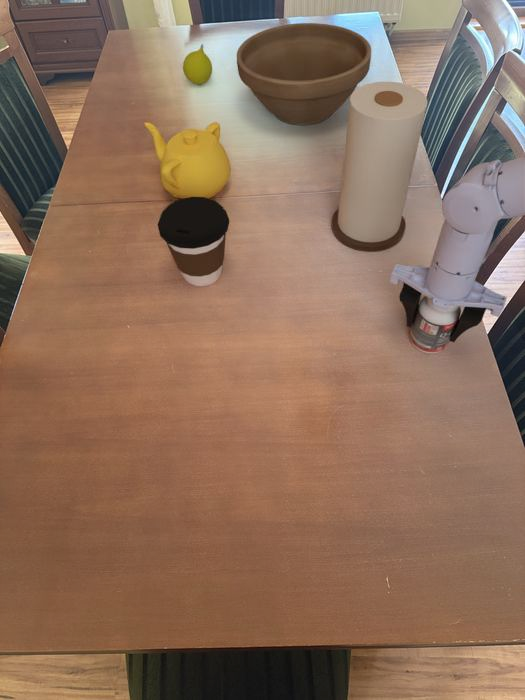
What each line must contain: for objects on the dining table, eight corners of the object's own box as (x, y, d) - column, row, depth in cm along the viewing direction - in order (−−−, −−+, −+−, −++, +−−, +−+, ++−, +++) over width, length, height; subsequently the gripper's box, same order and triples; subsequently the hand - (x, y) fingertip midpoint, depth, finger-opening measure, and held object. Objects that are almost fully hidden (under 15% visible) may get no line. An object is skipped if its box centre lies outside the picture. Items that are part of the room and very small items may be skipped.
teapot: (221, 161, 106) (215, 105, 97) (241, 201, 98) (236, 144, 88) (155, 175, 104) (143, 119, 95) (170, 217, 96) (158, 161, 86)
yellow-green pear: (217, 85, 126) (213, 42, 118) (190, 92, 125) (184, 48, 117) (208, 73, 130) (203, 30, 122) (181, 79, 129) (175, 36, 121)
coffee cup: (221, 303, 82) (212, 246, 72) (159, 289, 84) (143, 232, 75) (243, 258, 88) (238, 200, 79) (186, 247, 91) (174, 189, 81)
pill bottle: (439, 361, 74) (458, 315, 66) (402, 345, 76) (416, 299, 68) (453, 334, 77) (473, 288, 69) (417, 319, 79) (432, 273, 71)
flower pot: (229, 140, 111) (224, 78, 101) (251, 78, 128) (248, 19, 117) (361, 147, 108) (369, 83, 97) (366, 82, 124) (373, 22, 114)
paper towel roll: (413, 216, 94) (445, 85, 75) (390, 260, 87) (419, 129, 68) (347, 198, 97) (361, 70, 79) (320, 239, 91) (329, 109, 72)
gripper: (389, 262, 63) (374, 331, 74) (511, 299, 59) (476, 367, 69) (407, 228, 67) (390, 299, 77) (523, 260, 62) (487, 331, 73)
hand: (431, 329), depth 74 cm, fingers closed on pill bottle, 6 cm apart
